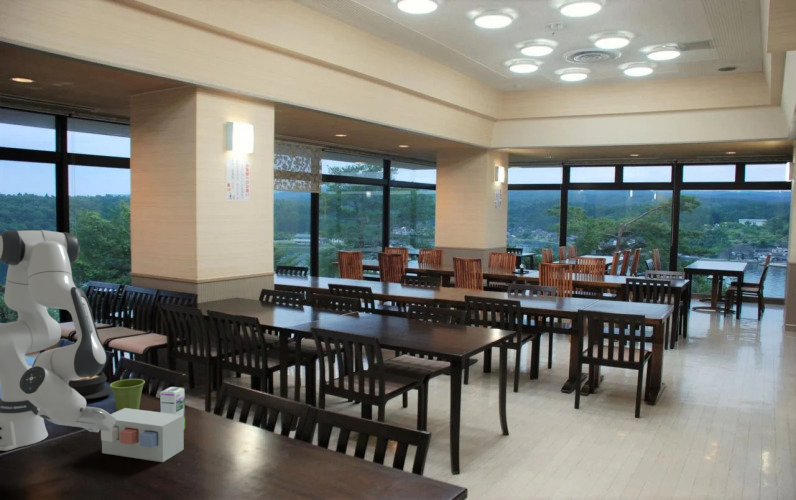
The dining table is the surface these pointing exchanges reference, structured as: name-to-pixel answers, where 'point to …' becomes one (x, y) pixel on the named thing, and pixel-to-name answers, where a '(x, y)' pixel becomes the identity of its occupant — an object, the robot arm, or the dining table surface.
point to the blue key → (149, 439)
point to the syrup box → (173, 401)
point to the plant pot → (127, 393)
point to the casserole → (91, 386)
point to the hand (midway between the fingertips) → (95, 429)
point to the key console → (163, 423)
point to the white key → (110, 434)
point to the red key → (129, 436)
